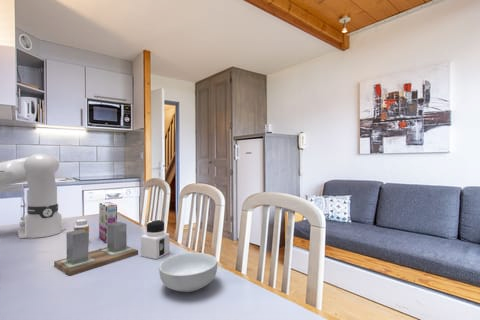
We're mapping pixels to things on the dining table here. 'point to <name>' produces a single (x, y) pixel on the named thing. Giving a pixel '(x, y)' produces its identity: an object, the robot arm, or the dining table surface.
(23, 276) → the dining table surface
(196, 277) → the cereal bowl
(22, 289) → the dining table surface
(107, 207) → the candy bar box
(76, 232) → the loose billet
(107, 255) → the wooden board
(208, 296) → the dining table surface
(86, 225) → the supplement bottle
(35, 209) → the robot arm
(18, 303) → the dining table surface
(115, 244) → the billet
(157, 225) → the container
